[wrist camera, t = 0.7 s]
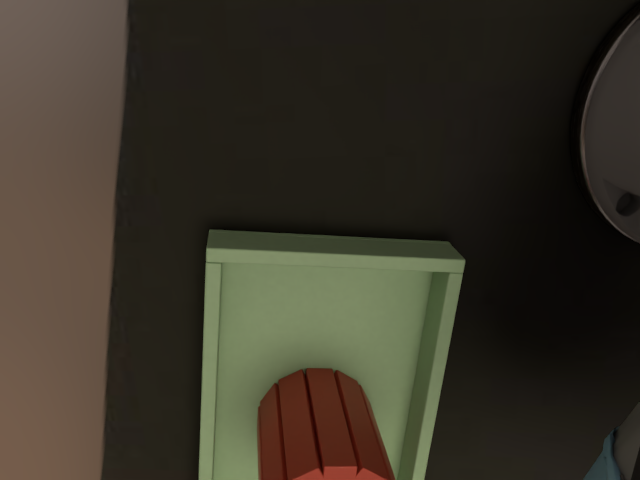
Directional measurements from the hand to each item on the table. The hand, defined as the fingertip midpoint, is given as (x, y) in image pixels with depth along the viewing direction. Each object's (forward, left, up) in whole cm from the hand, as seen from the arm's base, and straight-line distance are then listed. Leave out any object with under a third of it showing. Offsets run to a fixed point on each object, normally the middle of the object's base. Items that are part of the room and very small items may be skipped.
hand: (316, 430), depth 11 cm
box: (+16, +4, -22) cm, 27 cm away
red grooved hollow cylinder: (+16, +4, -22) cm, 27 cm away
